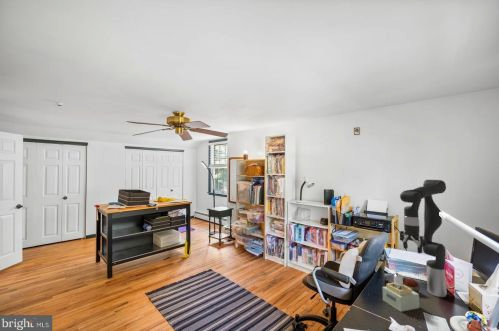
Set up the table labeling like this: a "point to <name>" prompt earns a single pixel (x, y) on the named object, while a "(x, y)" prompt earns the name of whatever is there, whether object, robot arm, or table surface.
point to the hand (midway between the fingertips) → (412, 250)
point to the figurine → (407, 284)
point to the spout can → (398, 281)
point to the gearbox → (400, 297)
